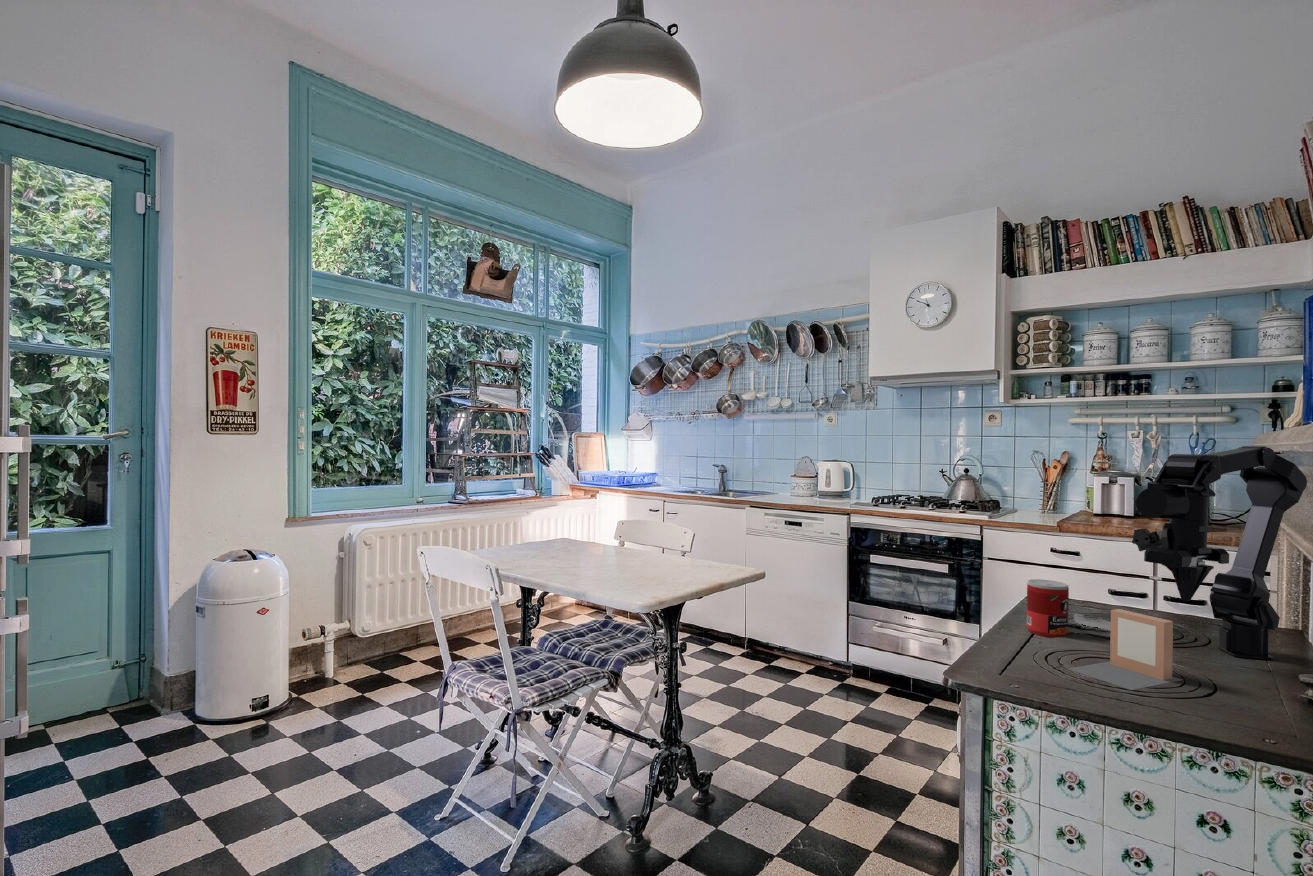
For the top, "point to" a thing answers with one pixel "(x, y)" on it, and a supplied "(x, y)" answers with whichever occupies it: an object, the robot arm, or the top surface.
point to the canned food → (1047, 608)
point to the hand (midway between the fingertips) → (1185, 600)
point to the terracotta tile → (1141, 643)
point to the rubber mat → (1120, 676)
